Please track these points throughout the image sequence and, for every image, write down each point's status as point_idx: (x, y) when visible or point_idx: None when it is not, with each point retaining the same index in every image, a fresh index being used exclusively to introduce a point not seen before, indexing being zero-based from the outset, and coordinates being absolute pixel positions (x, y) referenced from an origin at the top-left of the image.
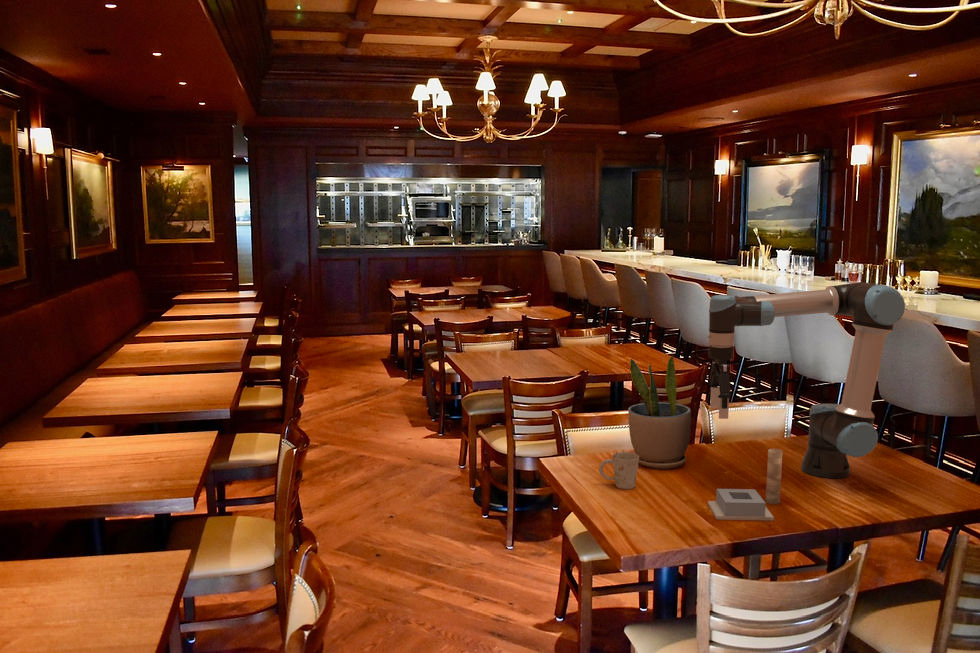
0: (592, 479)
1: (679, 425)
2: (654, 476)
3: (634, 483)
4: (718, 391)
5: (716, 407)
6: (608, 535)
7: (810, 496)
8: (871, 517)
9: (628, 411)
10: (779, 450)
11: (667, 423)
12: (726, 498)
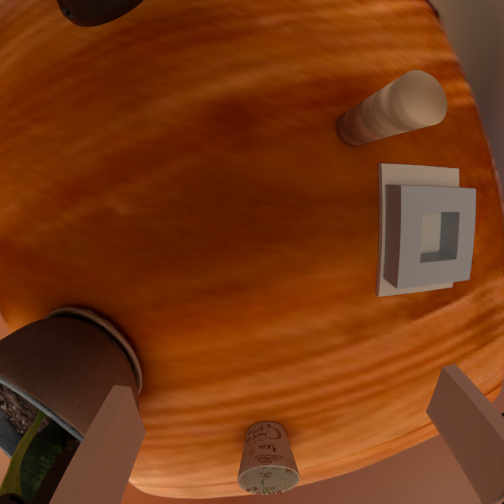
0: (234, 467)
1: (90, 409)
2: (191, 384)
3: (276, 428)
4: (85, 497)
5: (134, 404)
6: None
7: (296, 30)
8: None
9: None
10: (420, 79)
11: None
12: (452, 274)
